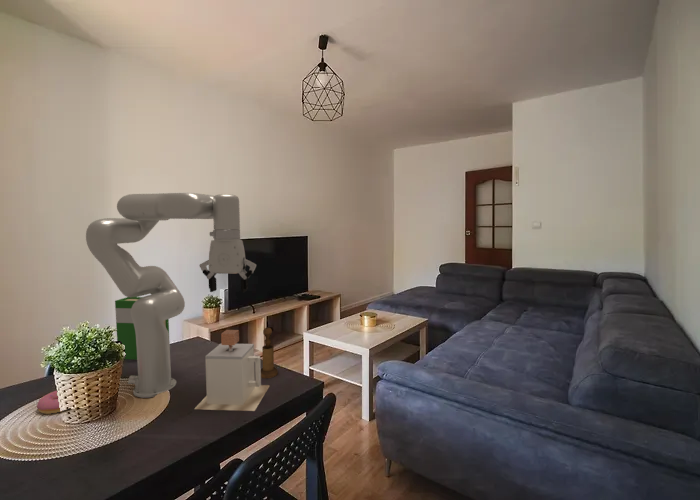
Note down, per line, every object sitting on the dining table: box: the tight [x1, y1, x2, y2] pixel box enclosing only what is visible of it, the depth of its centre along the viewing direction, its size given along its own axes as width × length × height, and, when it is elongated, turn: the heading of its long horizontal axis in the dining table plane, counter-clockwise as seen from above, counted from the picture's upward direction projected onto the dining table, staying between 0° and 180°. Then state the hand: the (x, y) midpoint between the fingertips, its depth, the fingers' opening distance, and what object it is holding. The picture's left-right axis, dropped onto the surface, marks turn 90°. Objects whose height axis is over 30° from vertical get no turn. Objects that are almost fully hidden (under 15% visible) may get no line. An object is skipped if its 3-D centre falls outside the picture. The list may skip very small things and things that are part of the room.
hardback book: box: [114, 296, 170, 361], centre depth 146 cm, size 18×7×24 cm, turn 84°
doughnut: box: [36, 390, 61, 415], centre depth 107 cm, size 11×11×4 cm
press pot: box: [205, 343, 262, 405], centre depth 111 cm, size 15×11×15 cm
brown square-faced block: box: [220, 329, 240, 351], centre depth 111 cm, size 8×8×19 cm
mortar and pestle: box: [261, 327, 279, 379], centre depth 126 cm, size 7×6×18 cm
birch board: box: [194, 384, 271, 412], centre depth 111 cm, size 18×16×1 cm
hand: (228, 291), depth 109 cm, fingers open, 9 cm apart
